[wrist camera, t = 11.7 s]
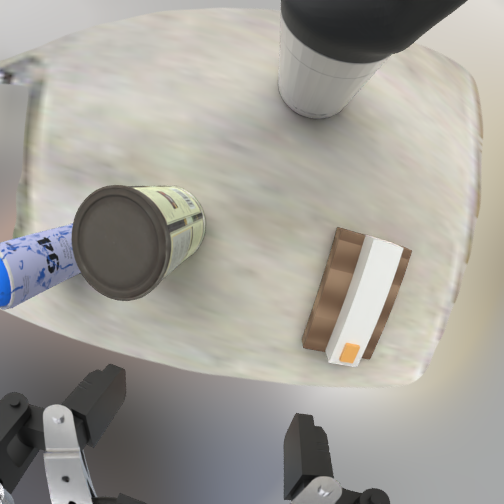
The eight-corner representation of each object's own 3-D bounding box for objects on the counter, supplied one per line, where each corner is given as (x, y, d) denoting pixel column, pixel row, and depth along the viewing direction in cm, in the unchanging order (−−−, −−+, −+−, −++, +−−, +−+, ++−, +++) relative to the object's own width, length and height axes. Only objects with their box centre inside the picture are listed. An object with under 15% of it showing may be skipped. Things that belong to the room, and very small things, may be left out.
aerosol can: (102, 263, 39) (5, 313, 19) (69, 279, 40) (-20, 328, 20) (83, 214, 37) (-23, 238, 18) (52, 234, 38) (-44, 264, 19)
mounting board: (337, 227, 35) (341, 229, 33) (404, 246, 35) (411, 250, 33) (301, 338, 39) (303, 347, 36) (365, 350, 39) (369, 359, 36)
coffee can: (127, 249, 38) (66, 278, 24) (144, 177, 36) (81, 174, 22) (194, 273, 38) (155, 318, 24) (216, 197, 36) (182, 203, 22)
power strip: (360, 232, 35) (375, 239, 29) (387, 240, 35) (405, 248, 29) (323, 343, 38) (329, 365, 33) (348, 347, 38) (358, 369, 33)
